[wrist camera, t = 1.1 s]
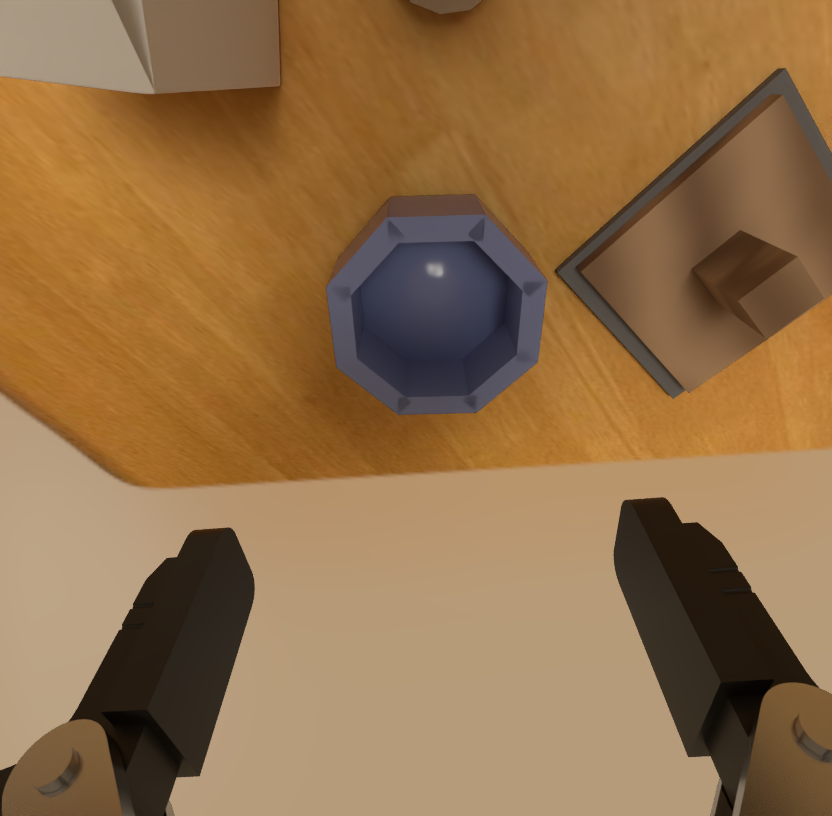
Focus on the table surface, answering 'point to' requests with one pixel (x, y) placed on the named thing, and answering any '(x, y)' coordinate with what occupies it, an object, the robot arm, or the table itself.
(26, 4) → the milk carton
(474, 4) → the salt shaker
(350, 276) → the bowl
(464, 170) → the table surface
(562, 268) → the mat
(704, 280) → the lid
